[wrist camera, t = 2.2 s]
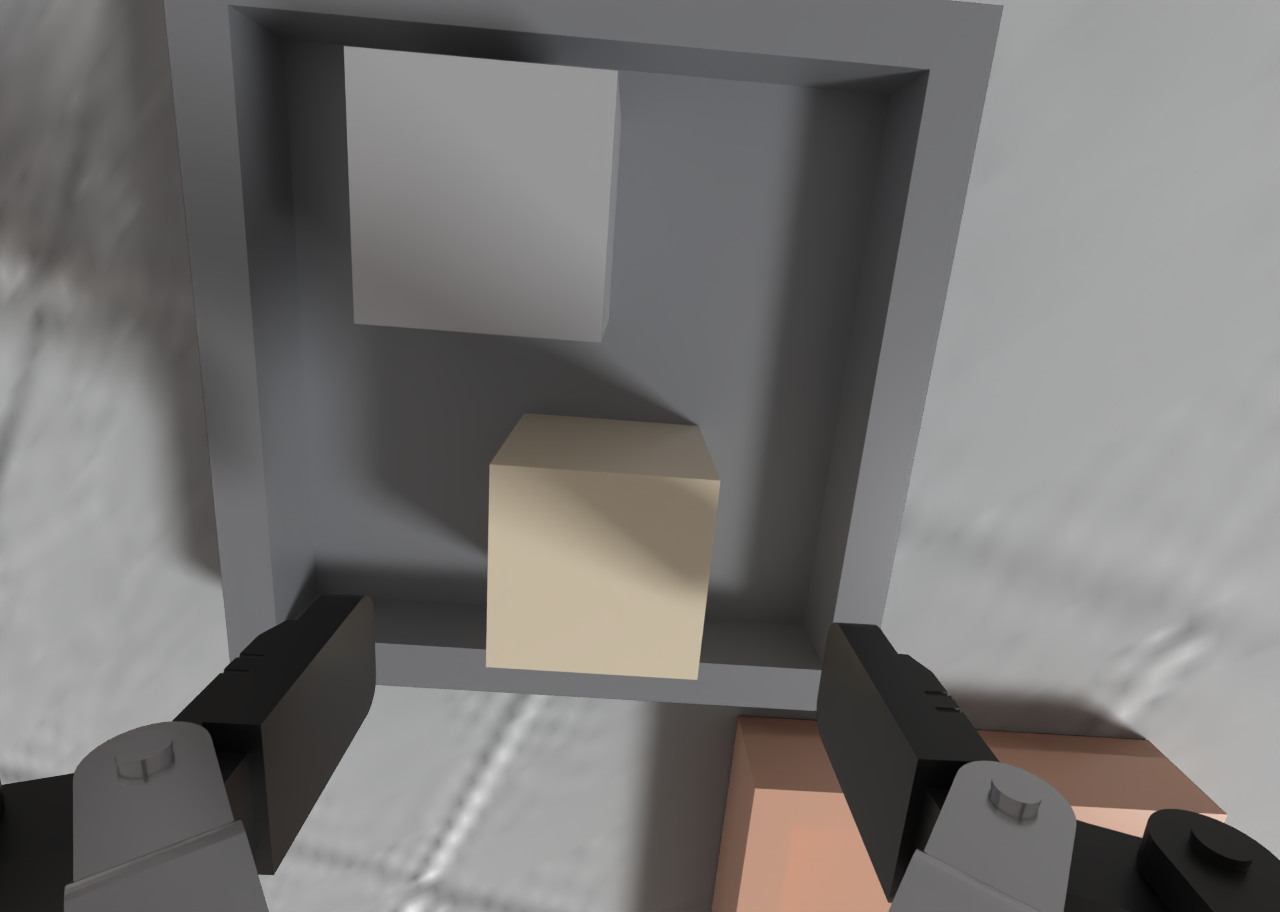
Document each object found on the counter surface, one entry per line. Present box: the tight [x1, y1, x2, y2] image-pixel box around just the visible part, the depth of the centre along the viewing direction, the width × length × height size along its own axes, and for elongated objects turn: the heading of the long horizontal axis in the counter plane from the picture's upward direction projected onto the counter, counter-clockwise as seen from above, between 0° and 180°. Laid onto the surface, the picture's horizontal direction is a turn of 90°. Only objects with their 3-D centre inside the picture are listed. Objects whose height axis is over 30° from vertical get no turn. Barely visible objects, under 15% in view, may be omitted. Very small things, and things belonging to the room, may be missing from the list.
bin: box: [164, 0, 1003, 711], centre depth 17 cm, size 16×16×3 cm
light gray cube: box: [344, 46, 621, 343], centre depth 14 cm, size 4×4×4 cm
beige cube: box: [486, 413, 720, 680], centre depth 16 cm, size 4×4×4 cm
